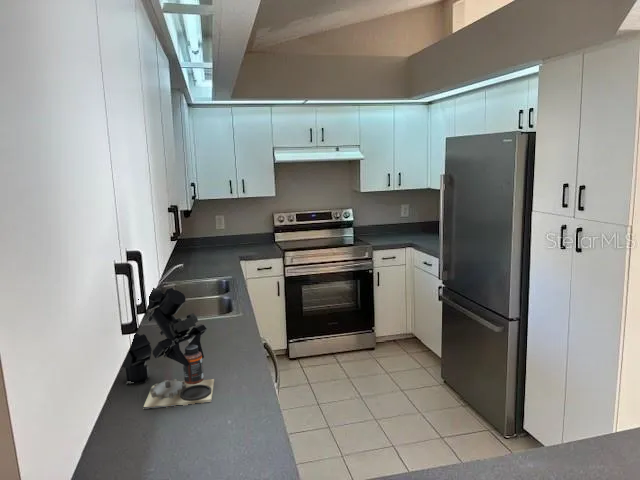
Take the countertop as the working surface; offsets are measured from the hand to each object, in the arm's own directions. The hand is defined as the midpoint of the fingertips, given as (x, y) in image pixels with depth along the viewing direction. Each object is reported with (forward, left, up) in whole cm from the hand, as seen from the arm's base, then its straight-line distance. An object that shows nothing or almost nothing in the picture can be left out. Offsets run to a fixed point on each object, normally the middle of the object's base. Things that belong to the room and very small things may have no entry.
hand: (195, 361), depth 150 cm
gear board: (-6, +3, -12) cm, 14 cm away
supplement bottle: (-1, +1, -7) cm, 7 cm away
